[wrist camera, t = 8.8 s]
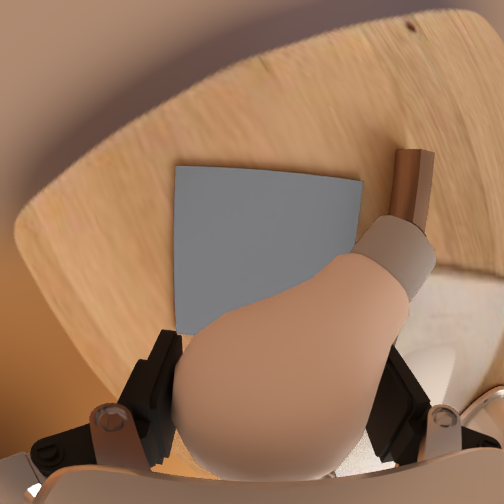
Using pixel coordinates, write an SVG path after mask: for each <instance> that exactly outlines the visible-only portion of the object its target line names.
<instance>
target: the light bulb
mask: <svg viewBox="0 0 504 504" xmlns="http://www.w3.org/2000/svg"><path fill="white" fill-rule="evenodd" d="M435 264H436V256H435V252H434V249H433V247H432V246H431V244H430V242H429V241H428V239H427V238H426V235H425V234H424V232H423V231H422V230H421V229H420V228H419V227H418V226H417V225H416V224H414V223H413V222H411V221H408V220H403V219H400V218H397V217H395V216H392V215H381V216H379V217H378V218H377V219H376V220H375V221H374V222H373V223H372V225H371V226H370V227H369V228H368V230H367V231H366V232H365V233H364V235H363V236H362V237H361V238H360V240H359V241H358V242H357V243H356V245H355V246H354V247H353V248H352V250H351V251H350V253H349V254H343V255H338V256H337V257H335V258H334V259H333V260H332V261H331V262H330V263H329V264H328V265H326V266H325V267H324V268H323V269H322V270H321V271H320V272H319V273H317V274H316V275H315V276H314V277H313V278H312V279H310V280H308V281H306V282H303V283H301V284H299V285H297V286H295V287H293V288H290V289H288V290H286V291H284V292H282V293H279V294H277V295H275V296H272V297H269V298H266V299H264V300H261V301H258V302H255V303H252V304H249V305H247V306H244V307H241V308H238V309H235V310H232V311H229V312H226V313H225V314H223V315H222V316H220V317H219V318H218V319H216V320H215V321H214V322H212V323H211V324H209V325H208V326H207V327H205V328H204V329H202V330H201V331H200V332H198V333H197V334H196V335H194V336H193V338H192V339H191V341H190V343H189V344H188V346H187V348H186V349H185V351H184V352H183V354H182V356H181V357H180V359H179V361H178V362H177V364H176V366H175V372H174V381H173V392H172V406H171V419H172V421H173V423H174V425H175V427H176V429H177V431H178V433H179V434H180V436H181V438H182V440H183V442H184V444H185V446H186V447H187V449H188V451H189V452H190V454H191V456H192V457H193V459H194V460H195V462H196V464H197V465H199V466H201V467H202V468H204V469H206V470H207V471H209V472H211V473H212V474H214V475H216V476H217V477H219V478H221V479H223V480H225V481H246V482H284V481H305V480H318V479H320V478H321V477H323V476H325V475H327V474H329V473H330V472H332V471H334V470H336V469H337V468H338V467H339V466H340V465H341V463H342V462H343V461H344V460H345V458H346V457H347V456H348V455H349V453H350V452H351V451H352V450H353V448H354V447H355V446H356V444H357V443H358V442H359V440H360V439H361V437H362V436H363V433H364V430H365V427H366V424H367V421H368V418H369V415H370V412H371V409H372V406H373V402H374V399H375V396H376V392H377V389H378V385H379V382H380V379H381V376H382V373H383V370H384V367H385V364H386V361H387V358H388V355H389V352H390V348H391V345H392V344H393V342H394V341H395V339H396V337H397V336H398V334H399V332H400V331H401V329H402V327H403V325H404V324H405V322H406V320H407V318H408V317H409V302H411V300H412V299H413V298H414V296H415V295H416V293H417V292H418V290H419V289H420V288H421V286H422V285H423V283H424V282H425V280H426V279H427V277H428V276H429V274H430V273H431V271H432V270H433V268H434V266H435Z"/></svg>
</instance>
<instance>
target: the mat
mask: <svg viewBox="0 0 504 504" xmlns="http://www.w3.org/2000/svg"><path fill="white" fill-rule="evenodd" d="M362 189H363V181H358V180H351V179H344V178H336V177H328V176H320V175H311V174H302V173H292V172H282V171H270V170H258V169H244V168H227V167H206V166H176V172H175V198H174V293H175V319H176V332H177V334H186V335H196V334H197V333H198V332H200V331H201V330H202V329H204V328H205V327H207V326H208V325H209V324H211V323H212V322H214V321H215V320H216V319H218V318H219V317H220V316H222V315H223V314H225V313H226V312H229V311H232V310H235V309H238V308H241V307H244V306H247V305H249V304H252V303H255V302H258V301H261V300H264V299H266V298H269V297H272V296H275V295H277V294H279V293H282V292H284V291H286V290H288V289H290V288H293V287H295V286H297V285H299V284H301V283H303V282H306V281H308V280H310V279H312V278H313V277H314V276H315V275H316V274H317V273H319V272H320V271H321V270H322V269H323V268H324V267H325V266H326V265H328V264H329V263H330V262H331V261H332V260H333V259H334V258H335V257H337V256H338V255H343V254H349V253H350V251H351V250H352V248H353V247H354V246H355V240H356V234H357V227H358V220H359V213H360V205H361V197H362Z"/></svg>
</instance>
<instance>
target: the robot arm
mask: <svg viewBox="0 0 504 504" xmlns="http://www.w3.org/2000/svg"><path fill="white" fill-rule="evenodd" d="M182 354H183V351H182V336H181V335H177V332H176V331H171V330H161V332H160V334H159V336H158V338H157V340H156V342H155V345H154V347H153V349H152V351H151V353H150V355H149V357H148V360H143V359H139V360H138V361H137V363H136V365H135V367H134V369H133V371H132V373H131V375H130V377H129V379H128V381H127V383H126V385H125V387H124V390H123V392H122V394H121V396H120V398H119V400H118V402H117V404H116V403H106V404H102V405H100V406H98V407H96V408H95V409H94V410H93V411H92V412H91V414H90V417H89V424H86V425H83V426H80V427H77V428H74V429H71V430H68V431H65V432H62V433H59V434H55V435H52V436H49V437H46V438H43V439H40V440H38V441H37V442H36V443H34V445H33V446H32V448H31V452H30V453H27V454H25V453H24V452H21V453H18V454H15V455H13V456H10V457H7V458H5V459H2V460H0V504H504V386H498V387H495V388H493V389H491V390H489V391H488V392H486V393H485V394H483V395H482V396H481V397H479V398H478V399H477V400H476V401H475V402H473V403H472V404H471V405H470V406H469V407H468V408H467V409H466V410H465V411H464V412H463V413H462V414H461V416H460V415H459V414H458V412H457V411H456V410H455V409H453V408H452V407H450V406H447V405H436V406H433V407H432V406H431V405H430V400H429V398H428V396H427V395H426V393H425V392H424V391H423V389H422V387H421V386H420V384H419V382H418V381H417V379H416V378H415V376H414V375H413V373H412V372H411V370H410V369H409V367H408V366H407V364H406V363H405V361H404V360H403V358H402V357H401V356H400V354H399V353H398V351H397V350H396V348H395V347H394V345H393V344H392V345H391V348H390V352H389V355H388V358H387V361H386V364H385V367H384V370H383V373H382V376H381V379H380V382H379V385H378V389H377V392H376V396H375V399H374V402H373V406H372V409H371V412H370V415H369V418H368V421H367V424H366V427H365V428H366V431H367V433H368V436H369V439H370V441H371V444H372V447H373V450H374V452H375V455H376V456H377V457H380V460H381V463H385V462H389V461H394V462H395V463H396V464H395V468H391V469H386V470H381V471H376V472H370V473H365V474H358V475H352V476H345V477H337V478H328V479H318V480H305V481H284V482H246V481H225V480H212V479H202V478H193V477H184V476H177V475H170V474H163V473H157V472H152V471H151V469H150V468H151V467H153V466H155V465H156V464H161V465H162V463H163V459H164V457H166V458H168V457H169V455H170V451H171V447H172V442H173V438H174V434H175V430H176V427H175V425H174V423H173V421H172V419H171V406H172V392H173V381H174V372H175V366H176V364H177V362H178V361H179V359H180V357H181V356H182Z"/></svg>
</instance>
